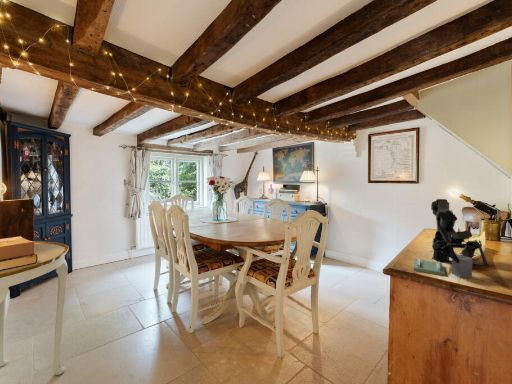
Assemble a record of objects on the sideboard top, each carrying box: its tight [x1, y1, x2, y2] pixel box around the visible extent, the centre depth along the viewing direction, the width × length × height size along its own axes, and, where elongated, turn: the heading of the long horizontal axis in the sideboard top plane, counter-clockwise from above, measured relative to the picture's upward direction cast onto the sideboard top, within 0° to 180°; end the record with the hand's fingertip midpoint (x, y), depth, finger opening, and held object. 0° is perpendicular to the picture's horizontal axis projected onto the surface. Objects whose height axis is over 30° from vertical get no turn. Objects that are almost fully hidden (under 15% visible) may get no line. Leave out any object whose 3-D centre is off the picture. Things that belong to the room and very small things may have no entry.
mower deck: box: [413, 258, 445, 277], centre depth 123 cm, size 12×16×3 cm
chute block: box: [451, 254, 474, 279], centre depth 114 cm, size 5×5×9 cm
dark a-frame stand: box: [471, 239, 490, 268], centre depth 130 cm, size 9×6×12 cm, turn 50°
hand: (464, 262), depth 112 cm, fingers closed on chute block, 5 cm apart
